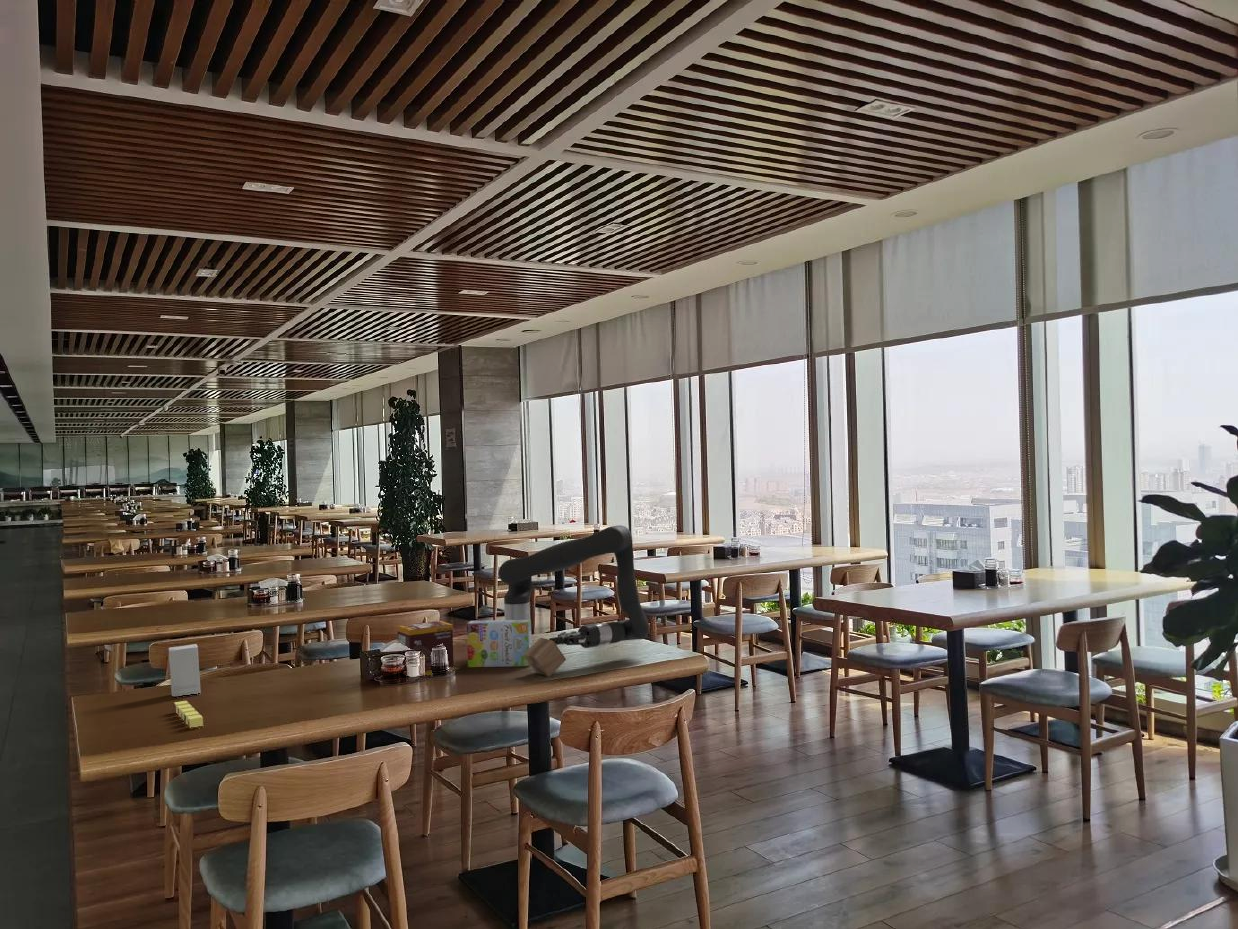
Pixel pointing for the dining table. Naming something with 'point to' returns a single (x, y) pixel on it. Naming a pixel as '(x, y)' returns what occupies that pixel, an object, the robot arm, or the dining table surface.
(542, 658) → the walnut cube
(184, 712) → the yellow segmented bar
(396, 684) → the dining table surface
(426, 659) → the supplement box
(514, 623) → the snack box
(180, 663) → the skincare box
